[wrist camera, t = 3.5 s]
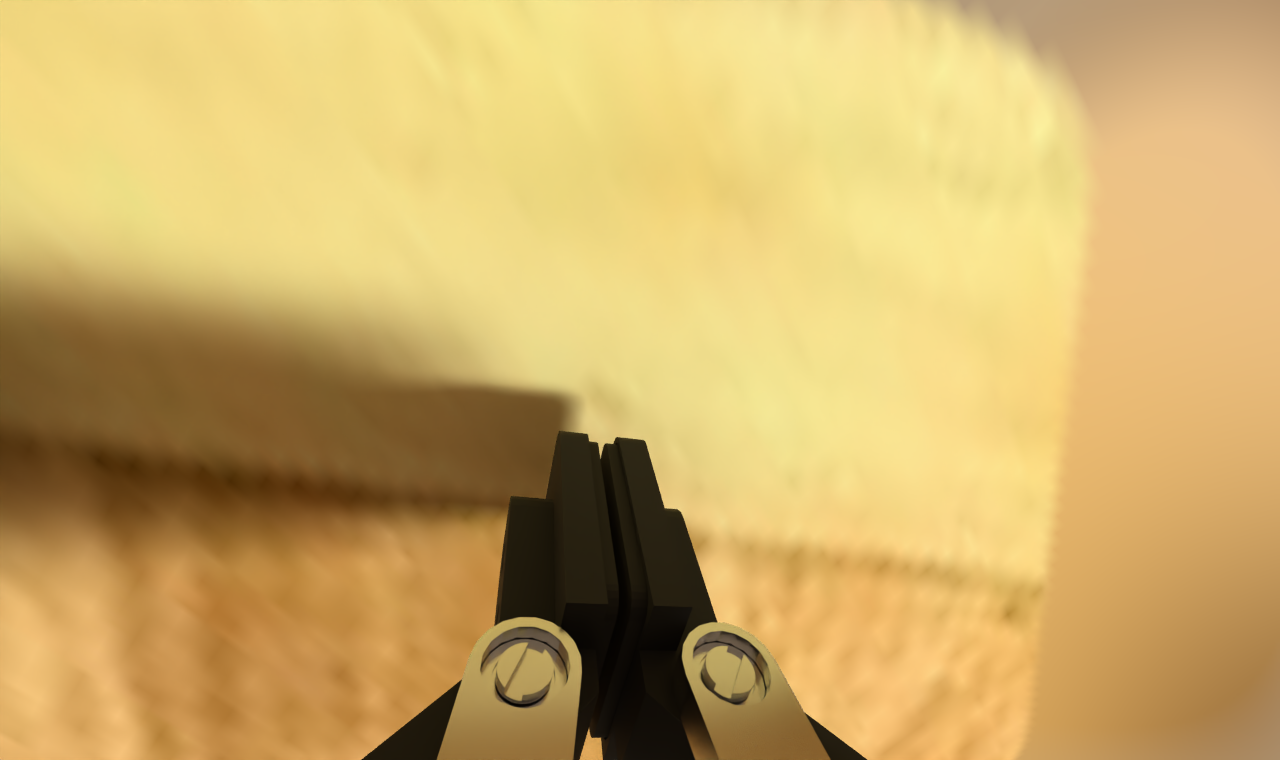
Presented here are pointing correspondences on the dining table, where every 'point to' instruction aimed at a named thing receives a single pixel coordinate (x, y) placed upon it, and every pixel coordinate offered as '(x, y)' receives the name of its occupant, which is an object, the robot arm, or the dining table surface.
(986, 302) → the dining table surface
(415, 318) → the dining table surface
